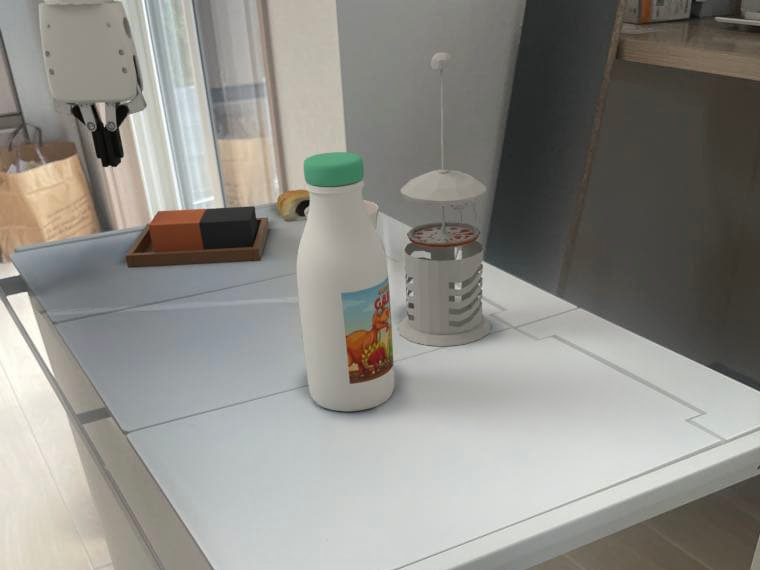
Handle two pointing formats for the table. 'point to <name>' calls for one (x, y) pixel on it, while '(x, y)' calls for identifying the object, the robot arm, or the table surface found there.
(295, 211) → the pastry
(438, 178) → the french press
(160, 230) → the orange block
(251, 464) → the table surface
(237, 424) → the table surface
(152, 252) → the tray
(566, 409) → the table surface
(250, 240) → the seated pad
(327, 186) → the milk bottle
